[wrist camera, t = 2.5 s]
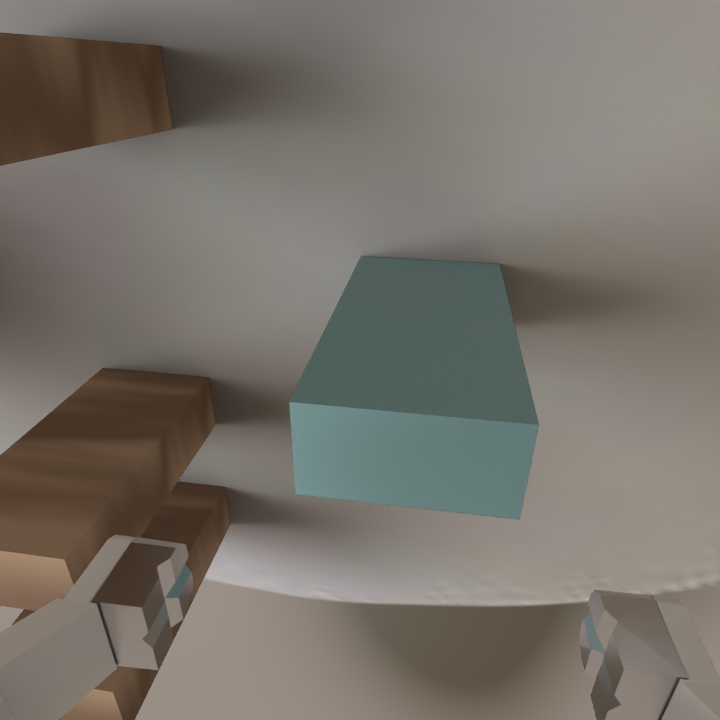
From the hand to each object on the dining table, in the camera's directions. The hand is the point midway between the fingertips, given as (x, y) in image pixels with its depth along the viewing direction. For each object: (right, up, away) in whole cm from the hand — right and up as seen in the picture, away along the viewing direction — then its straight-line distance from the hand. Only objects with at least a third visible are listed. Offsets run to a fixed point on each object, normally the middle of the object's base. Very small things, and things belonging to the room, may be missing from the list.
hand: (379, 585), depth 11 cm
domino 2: (-11, +3, +18) cm, 22 cm away
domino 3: (+3, +8, +13) cm, 15 cm away
